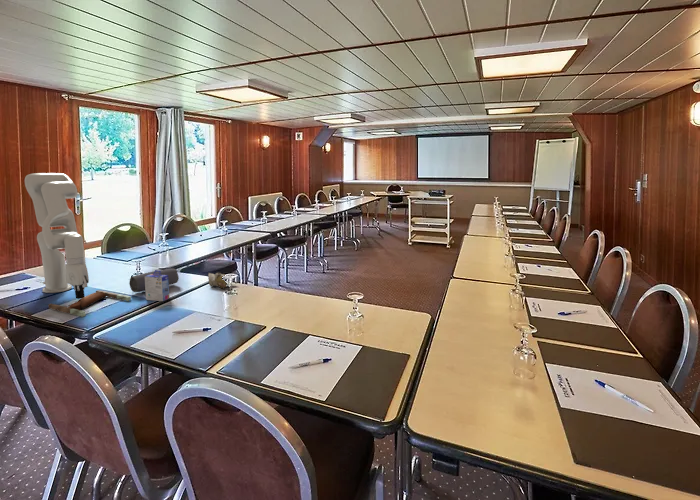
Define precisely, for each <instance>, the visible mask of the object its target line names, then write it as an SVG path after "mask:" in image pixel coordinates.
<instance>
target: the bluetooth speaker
mask: <svg viewBox="0 0 700 500" xmlns="http://www.w3.org/2000/svg"><path fill="white" fill-rule="evenodd" d="M154 271H155V270H153V271H150V272H146V273H145V272H144V273H141V274H137V275H133V276H130V278H129V288H130V290H131V292H134V293H140V292H146V290H145V276H147V275H150V274H154ZM160 271H161V274H160V275H168V281H169V286H171V285H174V284H176V283H179V282H178V281H179V278H180V277H179V274H178V271H177V270H176V269H175V268H165V269H160ZM155 273H160V272H155Z"/></svg>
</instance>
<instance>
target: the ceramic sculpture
mask: <svg viewBox="0 0 700 500" xmlns="http://www.w3.org/2000/svg"><path fill="white" fill-rule="evenodd" d="M225 275H226V274H225V273H221V272H219V271H218V272H216V273H215V274H214V273H211V272H208V277H207V278H208V285H209V286H210V287H214V286H216V287H219V288H220V289H226V288H228V286H227V285H228V284H227V283H226V282H225V281H224V280H222V277H223V276H225ZM234 282H235V284H237V281H234Z"/></svg>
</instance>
